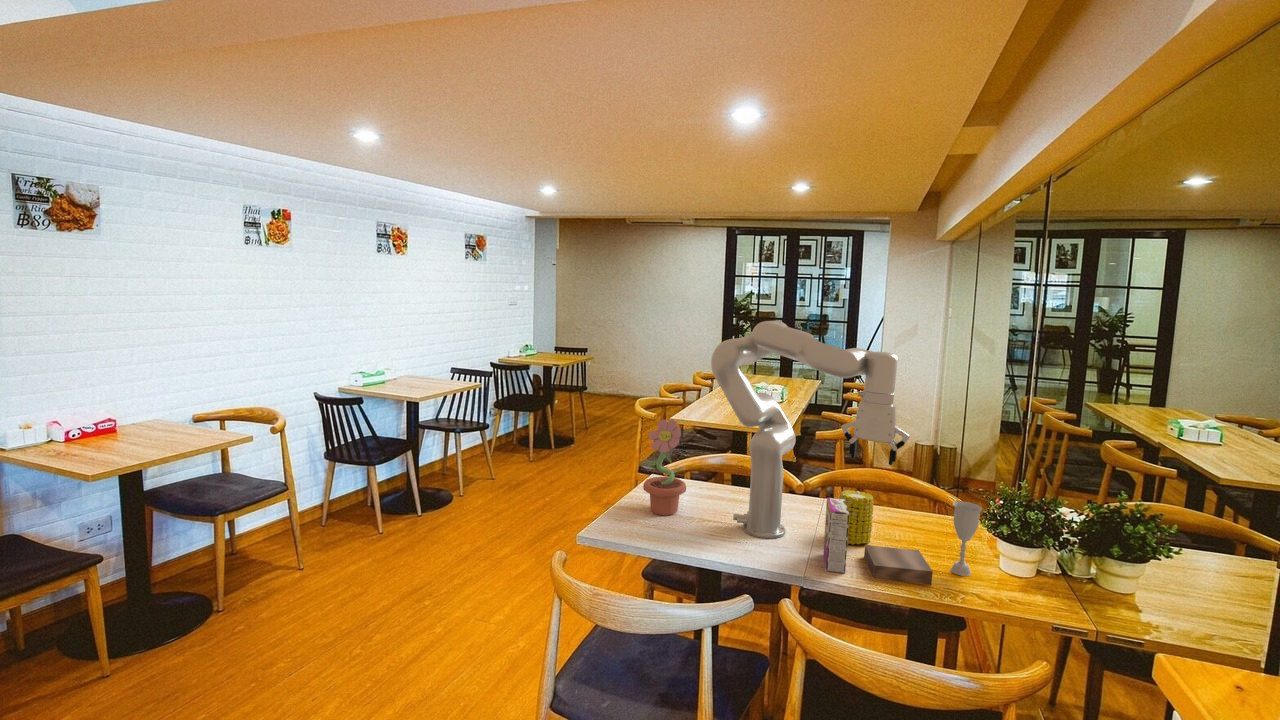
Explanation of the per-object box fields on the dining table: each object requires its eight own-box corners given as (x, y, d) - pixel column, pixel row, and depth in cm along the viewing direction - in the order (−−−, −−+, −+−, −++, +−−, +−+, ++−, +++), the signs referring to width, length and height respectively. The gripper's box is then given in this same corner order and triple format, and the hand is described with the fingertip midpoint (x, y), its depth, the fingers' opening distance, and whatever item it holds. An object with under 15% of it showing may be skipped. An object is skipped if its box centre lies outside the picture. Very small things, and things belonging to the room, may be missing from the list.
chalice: (974, 580, 160) (981, 513, 158) (945, 573, 164) (951, 507, 162) (976, 570, 166) (983, 505, 164) (948, 563, 170) (954, 499, 168)
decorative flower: (631, 511, 200) (634, 420, 196) (654, 500, 211) (658, 413, 208) (670, 523, 192) (674, 427, 188) (693, 510, 203) (697, 420, 199)
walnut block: (873, 580, 159) (874, 565, 159) (863, 558, 172) (865, 544, 172) (931, 586, 157) (932, 571, 156) (917, 564, 170) (918, 550, 169)
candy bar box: (822, 554, 173) (826, 496, 171) (840, 556, 172) (845, 498, 170) (825, 571, 162) (830, 511, 160) (845, 574, 161) (850, 513, 159)
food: (836, 548, 181) (840, 538, 190) (879, 547, 176) (881, 536, 185) (828, 496, 181) (832, 488, 190) (871, 494, 176) (872, 485, 185)
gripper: (842, 395, 167) (836, 457, 169) (911, 405, 159) (904, 470, 161) (847, 392, 174) (841, 451, 176) (914, 400, 165) (907, 463, 168)
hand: (871, 460), depth 168 cm, fingers open, 9 cm apart
